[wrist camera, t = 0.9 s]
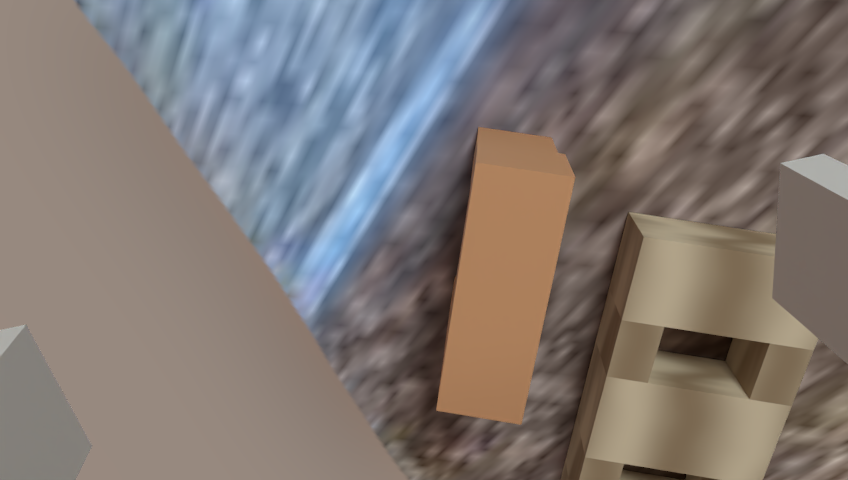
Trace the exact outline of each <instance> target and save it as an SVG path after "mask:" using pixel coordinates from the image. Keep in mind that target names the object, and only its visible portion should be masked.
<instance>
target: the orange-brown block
mask: <svg viewBox="0 0 848 480" xmlns="http://www.w3.org/2000/svg"><path fill="white" fill-rule="evenodd" d="M574 181H575V175H574V173H573V171H572V169H571V166H570V164H569V162H568V160H567V158H566V155H565V154H561V153H558V152H557V150H556V147H555V145H554V142H553V140H552V138H551V137H544V136H537V135H530V134H523V133H516V132H509V131H503V130H496V129H489V128H482V127H478V134H477V140H476V146H475V152H474V159H473V166H472V175H471V185H470V194H469V200H468V206H467V212H466V219H465V225H464V231H463V238H462V244H461V250H460V256H459V263H458V269H457V275H456V276H455V279H454V285H453V292H452V298H451V304H450V311H449V319H448V327H447V334H446V342H445V349H444V357H443V363H442V370H441V378H440V385H439V393H438V401H437V408H436V411H441V412H447V413H453V414H460V415H466V416H472V417H478V418H484V419H490V420H496V421H502V422H508V423H514V424H520V425H521V424H522V419H523V414H524V410H525V405H526V401H527V396H528V392H529V387H530V382H531V378H532V373H533V369H534V364H535V360H536V355H537V350H538V346H539V341H540V337H541V332H542V327H543V323H544V318H545V314H546V309H547V305H548V300H549V295H550V291H551V286H552V282H553V277H554V272H555V268H556V263H557V259H558V254H559V250H560V245H561V240H562V236H563V231H564V227H565V222H566V217H567V213H568V208H569V204H570V199H571V195H572V190H573V185H574Z"/></svg>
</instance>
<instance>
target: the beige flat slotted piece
mask: <svg viewBox="0 0 848 480" xmlns="http://www.w3.org/2000/svg"><path fill="white" fill-rule="evenodd" d="M775 243H776V234H771V233H765V232H758V231H751V230H745V229H738V228H731V227H725V226H718V225H711V224H705V223H698V222H691V221H685V220H678V219H671V218H665V217H658V216H651V215H645V214H638V213H631V212H628V216H627V220H626V224H625V228H624V232H623V235H622V239H621V243H620V247H619V251H618V255H617V259H616V263H615V267H614V271H613V275H612V279H611V283H610V287H609V291H608V295H607V299H606V302H605V306H604V310H603V314H602V318H601V322H600V326H599V330H598V334H597V338H596V342H595V346H594V350H593V354H592V358H591V362H590V365H589V369H588V373H587V377H586V381H585V385H584V389H583V393H582V397H581V401H580V405H579V409H578V413H577V417H576V421H575V425H574V429H573V432H572V436H571V440H570V444H569V448H568V452H567V456H566V460H565V464H564V468H563V472H562V476H561V480H682V479H676V478H670V477H664V476H658V475H652V474H646V473H640V472H634V471H628V470H622V469H623V466H624V464H628V465H634V466H640V467H646V468H652V469H658V470H664V471H670V472H676V473H682V474H687V475H686V478H685V480H763V478H764V475H765V472H766V470H767V467H768V465H769V462H770V460H771V457H772V455H773V452H774V450H775V447H776V445H777V442H778V439H779V437H780V434H781V432H782V429H783V427H784V424H785V422H786V419H787V417H788V414H789V412H790V409H791V406H792V404H793V401H794V399H795V396H796V394H797V391H798V389H799V386H800V384H801V381H802V379H803V376H804V373H805V371H806V368H807V366H808V363H809V361H810V358H811V356H812V353H813V351H814V348H815V346H816V343H817V340H818V338H817V337H816V336H815V335H814V334H813V333H812V332H810V331H809V330H808V329H807V328H806V327H805V326H804V325H802V324H801V323H800V322H799V321H798V320H797V319H796V318H794V317H793V316H792V315H791V314H790V313H789V312H787V311H786V310H785V309H784V308H783V307H782V306H781V305H779V304H778V303H777V302H776V301H775V300H774V299H773V298H772V292H773V276H774V260H775ZM664 327H668V328H675V329H681V330H687V331H694V332H700V333H706V334H713V335H719V336H725V337H732V338H733V339H732V342H731V345H730V348H729V351H728V354H727V357H726V360H725V361H723V360H716V359H710V358H704V357H697V356H691V355H685V354H678V353H672V352H666V351H660V350H658V347H659V344H660V340H661V337H662V333H663V330H664Z"/></svg>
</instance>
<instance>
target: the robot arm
mask: <svg viewBox="0 0 848 480" xmlns="http://www.w3.org/2000/svg"><path fill="white" fill-rule="evenodd" d="M772 298H773V299H774V300H775V301H776V302H777V303H778V304H779V305H781V306H782V307H783V308H784V309H785V310H786V311H787V312H789V313H790V314H791V315H792V316H793V317H794V318H796V319H797V320H798V321H799V322H800V323H801V324H802V325H804V326H805V327H806V328H807V329H808V330H809V331H810V332H812V333H813V334H814V335H815V336H816V337H817V338H818V339H820V340H821V341H822V342H823V343H824V344H825V345H826V346H828V347H829V348H830V349H831V350H832V351H833V352H834V353H836V354H837V355H838V356H839V357H840V358H841V359H842V360H844V361H845V362H846V363H847V364H848V165H846V164H844V163H842V162H840V161H837V160H835V159H833V158H831V157H829V156H827V155H825V154H821V155H816V156H812V157H807V158H802V159H797V160H793V161H788V162H783V163H780V178H779V194H778V211H777V227H776V243H775V260H774V276H773V292H772ZM91 447H92V445H91V443H90V441H89V439H88V438H87V436H86V434H85V432H84V430H83V428H82V426H81V424H80V423H79V421H78V419H77V417H76V415H75V413H74V412H73V410H72V408H71V406H70V404H69V402H68V401H67V399H66V397H65V395H64V393H63V391H62V389H61V388H60V386H59V384H58V382H57V380H56V378H55V377H54V375H53V373H52V371H51V369H50V367H49V366H48V364H47V362H46V360H45V358H44V356H43V355H42V353H41V351H40V349H39V347H38V345H37V343H36V342H35V340H34V338H33V336H32V334H31V333H30V331H29V329H28V327H27V325H22V326H18V327H12V328H8V329H4V330H0V480H76V478H77V476H78V474H79V472H80V469H81V467H82V465H83V463H84V461H85V459H86V457H87V455H88V453H89V451H90V449H91Z"/></svg>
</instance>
